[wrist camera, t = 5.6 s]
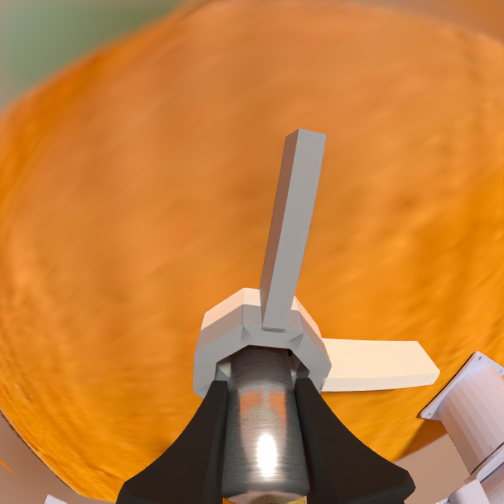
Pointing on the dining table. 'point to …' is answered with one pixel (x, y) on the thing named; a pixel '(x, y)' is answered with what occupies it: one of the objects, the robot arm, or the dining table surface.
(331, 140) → the dining table surface
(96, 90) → the dining table surface
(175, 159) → the dining table surface
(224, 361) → the hinge
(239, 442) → the hinge pin
